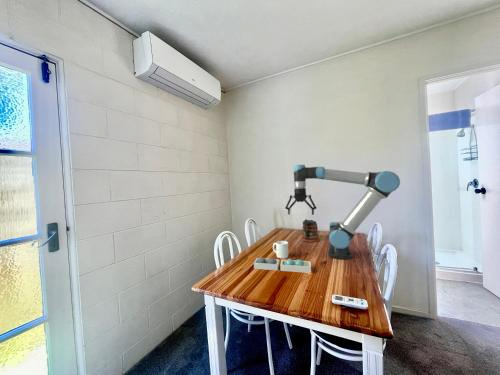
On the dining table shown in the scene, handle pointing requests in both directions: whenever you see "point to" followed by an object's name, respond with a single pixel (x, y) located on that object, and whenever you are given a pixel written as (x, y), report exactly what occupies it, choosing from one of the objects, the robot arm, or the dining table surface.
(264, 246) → the dining table surface
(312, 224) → the beer stein
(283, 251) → the cup
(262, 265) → the tray grey
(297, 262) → the teal ball in tray
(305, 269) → the tray cream
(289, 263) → the teal ball
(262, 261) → the charcoal ball
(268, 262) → the charcoal ball
